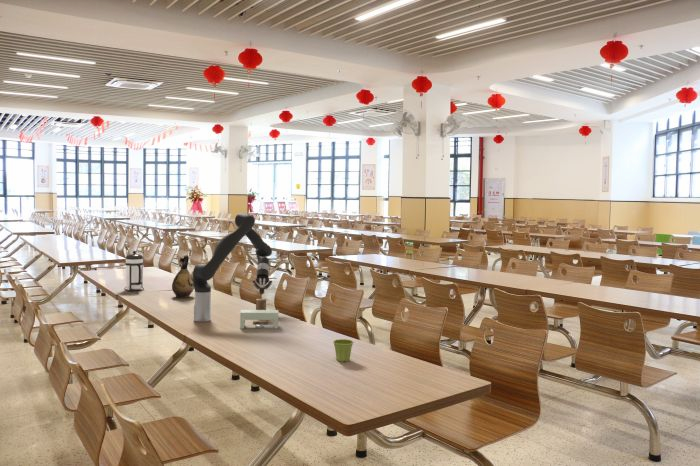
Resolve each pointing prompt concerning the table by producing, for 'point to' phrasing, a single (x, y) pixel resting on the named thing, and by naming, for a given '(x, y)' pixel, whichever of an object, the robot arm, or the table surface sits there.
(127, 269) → the coffee press
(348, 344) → the plant pot
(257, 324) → the disc
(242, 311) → the pale green bench
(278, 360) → the table surface
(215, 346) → the table surface
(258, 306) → the brown wooden block
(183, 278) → the ceramic jug
